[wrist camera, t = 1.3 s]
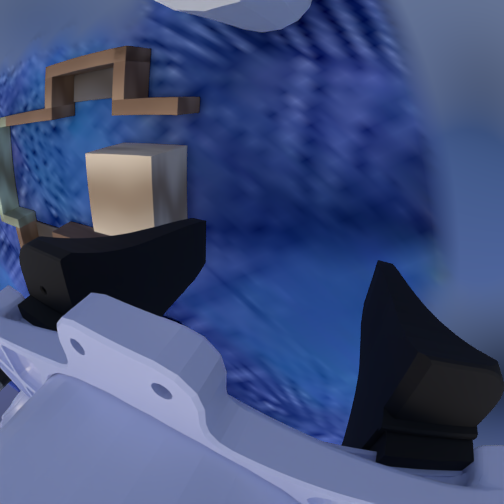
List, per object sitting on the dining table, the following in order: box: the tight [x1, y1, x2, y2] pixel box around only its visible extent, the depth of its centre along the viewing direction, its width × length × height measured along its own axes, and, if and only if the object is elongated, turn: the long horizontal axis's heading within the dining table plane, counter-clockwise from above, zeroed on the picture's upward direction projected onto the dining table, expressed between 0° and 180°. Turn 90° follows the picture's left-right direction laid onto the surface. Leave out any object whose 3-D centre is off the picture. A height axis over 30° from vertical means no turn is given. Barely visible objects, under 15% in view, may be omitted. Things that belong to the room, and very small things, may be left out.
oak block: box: [85, 143, 187, 236], centre depth 19 cm, size 6×6×4 cm
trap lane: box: [0, 46, 200, 248], centre depth 22 cm, size 19×26×2 cm
